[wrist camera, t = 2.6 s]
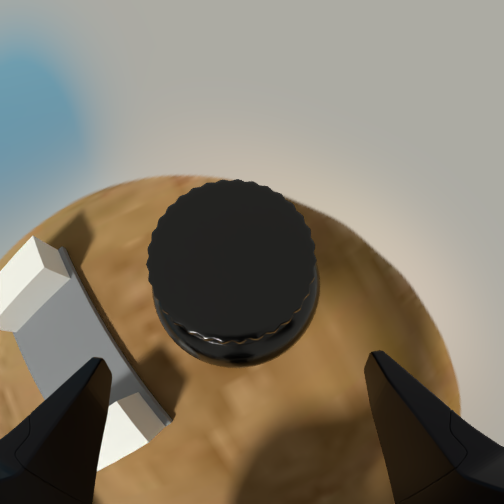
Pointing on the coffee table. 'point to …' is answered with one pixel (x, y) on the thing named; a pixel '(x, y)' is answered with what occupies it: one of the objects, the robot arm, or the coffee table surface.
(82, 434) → the robot arm
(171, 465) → the coffee table surface
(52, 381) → the rail plate
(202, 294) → the supplement bottle
